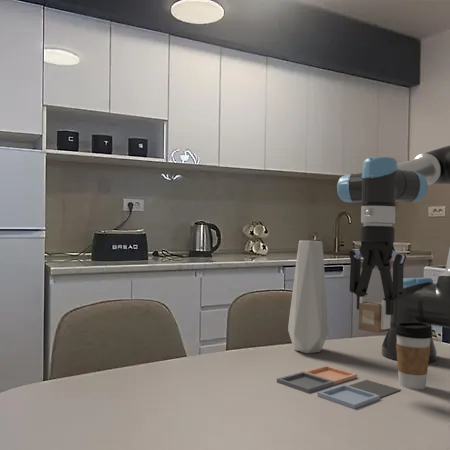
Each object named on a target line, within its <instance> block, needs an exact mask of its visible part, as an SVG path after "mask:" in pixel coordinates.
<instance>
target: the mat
mask: <svg viewBox="0 0 450 450" xmlns="http://www.w3.org/2000/svg"><path fill="white" fill-rule="evenodd" d="M348 386H350V387H354V388H357V389H360V390H363V391H367V392H370V393H373V394H376V395H379V400H380V399H382V398H386V397H388V396H390V395H393V394H395V393H398V392H401V389H400V388H396V387H393V386H390V385H386V384H383V383H380V382H376V381H372V380H369V379H364V380H361V381H359V382H355V383H352V384H348Z"/></svg>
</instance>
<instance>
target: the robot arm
mask: <svg viewBox="0 0 450 450" xmlns="http://www.w3.org/2000/svg"><path fill="white" fill-rule="evenodd" d="M436 184H437V185H439V184H440V185H442V184H443V185H450V145H446V146H443V147H440V148H436V149H433V150H430V151H427V152H425V153H420V154H418V155H416V156H415V157H414V158H413V159H411V160H407V161H403V162H399V163H398V162H397V159H395V157H389V156H374V157H373V156H372V157H368V158H366V159H364V161H363V164H362V171H361V172H359V173H350V174H344V175H342V176H341V177H339V179H338V181H337V185H336V189H337V195H338V197H339V199H340V200H341V201H343V202H344V203H352V204H355V203H361V207H360V208H361V211H360V223H361V224H363V225H361V226H360V232H359V233H360V234H359V235H360V236H359V238H360V239H359V241H360V243H361V244H360V247H359V248H358V249H355V250H349V251H348V256H349V259H350V270H349V271H350V275H349V292H350V293H353V294H355V295H356V310H358V311H359V303H365V302H370V296H368V295H369V293H368V288H369V283H370V281H371V277H372V274H373V273H372V272H373V270H374V268H375V267H377V269H378V271H379V274H380V280H381V284H382V285H381V286H382V290H383V294H384V298H382V299H381V303H382V305H381V306H382V308H381V329H383V330H384V329H389V328H390V331H386V335H385V336H384V340H383V341H382V345H381V355H382V356H384V357H386V358H387V359H392V360H394V361H397V349H396V342H397V335H396V334H395V329H396V324H397V323H405V322H421V323H428V324H431V325H432V326H437V327H442V328H447V329H450V247H449V249H448V254H447V261H446V264H445V271H444V272H442V273H440V274H438V276H437V281H436V283H434V280H433V278H432V277H408V278H407V277H404V268H405V267H404V265H405V262H406V259H407V255H406V254H405V253H400V252H397V251H396V249H395V247H394V242H395V236H396V235H395V231H396V230H395V227H394V226H393V225H394V224H395V223H396V202H397V203H399V202H400V203H401V202H404V203H408V204H409V203H410V204H411V203H417V202H420V201H421V200H423V199H424V197H425V196H426V195H427V193H428V191H429V190H428V187H429V186H430V185H436ZM361 258H362V259H363V260H362V259H361ZM391 259H392V261H393V264H392V268H391V262H390V261H391ZM391 269H392V272H391ZM430 346H431V347H430V355H429V362H428V363H432V362H435V361H437V349H436V346H435V343H434V339H433V337H432V338H431V339H430Z"/></svg>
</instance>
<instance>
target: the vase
mask: <svg viewBox="0 0 450 450" xmlns="http://www.w3.org/2000/svg"><path fill="white" fill-rule="evenodd" d="M323 246H324V245H323V241H321V240H305V239H304V240H299V241H298V247H297V253H296V260H295V261H296V262H295V270H294V277H293V284H292V285H293V287H292V294H291V302H290V308H289V316H288V317H289V318H288V327H287V330H288V334H289V338H290V341H291V344H292V346H293V350H294V351H295V352H296V351H297V352H299V351H300V353H305V354H315V353H316V352H317V353H321V352H322V349H323V346H324V345H325V343H326V341H327V337H328V335H329V331H330V329H329V317H328V302H327V287H326V277H325V276H326V275H325V274H326V273H325V264H324V263H325V261H324V248H323ZM317 353H316V354H317Z"/></svg>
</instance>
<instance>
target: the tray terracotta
mask: <svg viewBox="0 0 450 450" xmlns="http://www.w3.org/2000/svg"><path fill="white" fill-rule="evenodd" d="M303 372H305V373H308V374H311V375H315V376H318V377H321V378H324V379H328V380H331V381H334V385H333V386H335V385H338V384H342V383H344V382H347V381H350V380H351V381H352V380H354V379H357V378H358V374H357V373H353V372H351V371H347V370H343V369H341V368H336V367H333V366H329V365H323V366H319V367H316V368H312V369H308V370H304V371H303Z"/></svg>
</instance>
